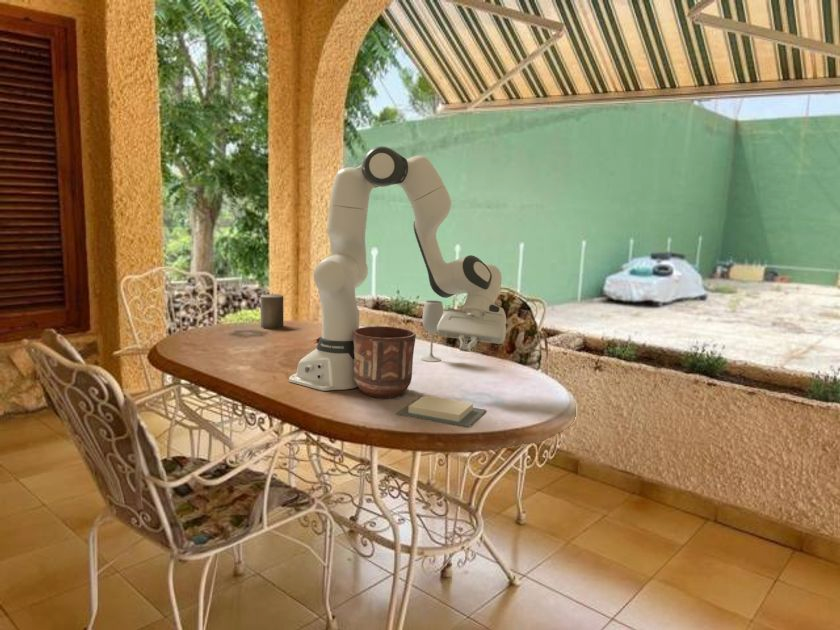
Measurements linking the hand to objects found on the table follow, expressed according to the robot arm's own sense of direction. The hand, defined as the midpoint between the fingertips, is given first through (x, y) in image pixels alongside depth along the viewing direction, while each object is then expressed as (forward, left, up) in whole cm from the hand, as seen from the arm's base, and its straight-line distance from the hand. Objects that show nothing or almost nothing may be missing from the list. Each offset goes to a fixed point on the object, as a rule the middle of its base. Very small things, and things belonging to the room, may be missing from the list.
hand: (464, 350), depth 177 cm
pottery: (-22, -7, -14) cm, 27 cm away
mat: (0, -16, -14) cm, 21 cm away
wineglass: (-25, +38, -14) cm, 47 cm away
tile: (0, -11, -13) cm, 17 cm away
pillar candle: (-106, +54, -14) cm, 120 cm away
